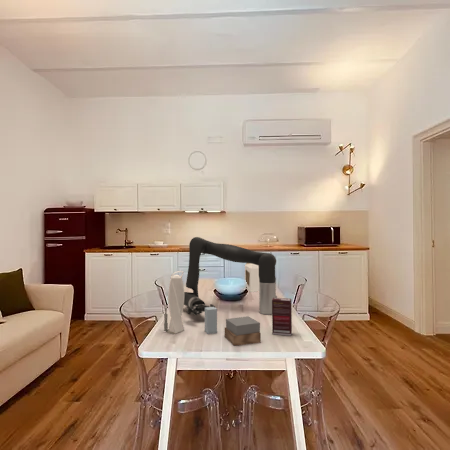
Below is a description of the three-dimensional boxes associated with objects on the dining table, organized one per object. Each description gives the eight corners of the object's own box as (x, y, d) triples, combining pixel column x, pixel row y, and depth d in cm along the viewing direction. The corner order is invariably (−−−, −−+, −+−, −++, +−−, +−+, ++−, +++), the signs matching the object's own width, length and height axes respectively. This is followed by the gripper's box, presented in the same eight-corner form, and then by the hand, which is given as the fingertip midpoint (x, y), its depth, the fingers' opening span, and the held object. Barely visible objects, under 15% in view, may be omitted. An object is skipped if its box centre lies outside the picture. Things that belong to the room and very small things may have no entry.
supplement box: (291, 332, 155) (291, 298, 155) (291, 336, 151) (291, 300, 151) (273, 331, 158) (273, 297, 158) (271, 334, 153) (271, 299, 153)
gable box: (244, 286, 268) (244, 251, 268) (261, 286, 270) (261, 251, 270) (250, 292, 246) (250, 254, 246) (268, 292, 248) (268, 253, 248)
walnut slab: (249, 334, 154) (249, 324, 154) (260, 343, 143) (260, 332, 143) (224, 337, 150) (224, 327, 150) (234, 347, 139) (233, 336, 139)
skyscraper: (176, 327, 164) (176, 270, 164) (188, 331, 159) (188, 271, 159) (163, 331, 158) (163, 272, 158) (174, 335, 153) (174, 273, 152)
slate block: (214, 330, 160) (214, 306, 160) (216, 333, 155) (216, 309, 155) (204, 331, 158) (204, 307, 158) (207, 334, 154) (207, 309, 154)
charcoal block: (248, 325, 154) (248, 316, 154) (259, 332, 144) (259, 322, 144) (226, 328, 150) (226, 319, 150) (236, 335, 140) (236, 325, 140)
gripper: (183, 298, 179) (190, 306, 164) (209, 297, 184) (218, 303, 169) (183, 313, 179) (190, 321, 164) (209, 310, 184) (218, 318, 169)
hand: (204, 312), depth 166 cm, fingers open, 8 cm apart
